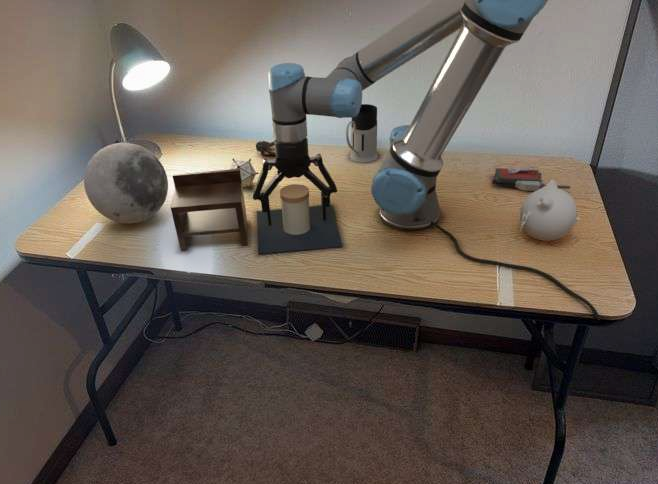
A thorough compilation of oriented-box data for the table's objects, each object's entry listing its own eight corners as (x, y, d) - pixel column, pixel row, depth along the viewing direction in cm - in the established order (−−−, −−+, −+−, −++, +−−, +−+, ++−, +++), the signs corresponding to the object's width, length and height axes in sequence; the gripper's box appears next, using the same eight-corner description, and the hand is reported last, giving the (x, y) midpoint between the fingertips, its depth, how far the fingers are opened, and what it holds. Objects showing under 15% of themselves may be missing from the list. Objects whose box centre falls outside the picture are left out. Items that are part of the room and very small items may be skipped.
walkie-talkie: (492, 190, 147) (569, 194, 144) (494, 176, 144) (573, 179, 141) (489, 176, 154) (563, 179, 150) (492, 161, 151) (567, 164, 148)
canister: (309, 219, 138) (307, 183, 132) (312, 233, 132) (310, 196, 126) (282, 221, 137) (278, 185, 131) (283, 236, 132) (280, 199, 125)
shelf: (247, 222, 139) (240, 168, 129) (247, 245, 130) (239, 189, 121) (184, 227, 137) (172, 174, 128) (180, 251, 129) (167, 196, 120)
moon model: (86, 239, 135) (59, 165, 122) (111, 200, 150) (89, 131, 138) (165, 237, 134) (146, 163, 122) (182, 198, 150) (166, 128, 137)
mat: (331, 206, 143) (331, 204, 143) (342, 247, 128) (342, 245, 128) (256, 212, 142) (256, 211, 142) (258, 255, 127) (258, 253, 126)
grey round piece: (569, 259, 121) (583, 212, 113) (509, 246, 125) (519, 200, 118) (576, 227, 131) (590, 181, 123) (521, 216, 136) (531, 171, 128)
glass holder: (383, 154, 168) (384, 106, 158) (359, 172, 159) (360, 122, 149) (358, 148, 172) (359, 101, 162) (334, 165, 163) (333, 116, 153)
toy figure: (305, 154, 171) (261, 148, 174) (305, 136, 166) (259, 130, 169) (299, 166, 166) (253, 160, 169) (298, 148, 161) (251, 142, 164)
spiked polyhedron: (246, 201, 155) (238, 186, 145) (225, 184, 157) (215, 168, 147) (267, 178, 156) (259, 162, 146) (245, 162, 158) (237, 145, 148)
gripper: (343, 127, 124) (344, 208, 137) (235, 136, 122) (246, 217, 136) (348, 140, 118) (349, 223, 131) (234, 149, 117) (246, 232, 130)
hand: (297, 220), depth 133 cm, fingers open, 13 cm apart
